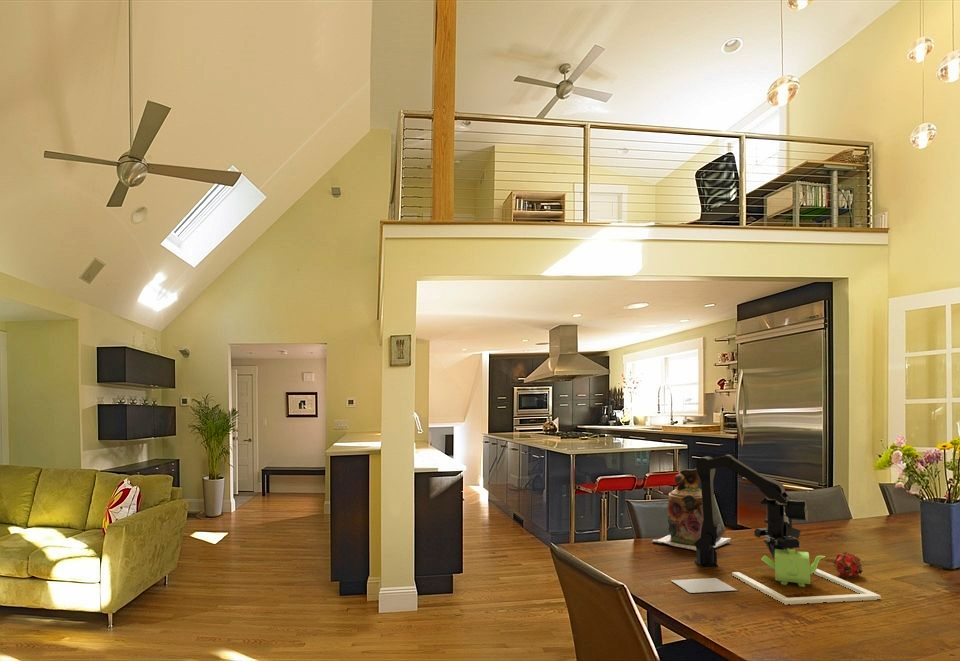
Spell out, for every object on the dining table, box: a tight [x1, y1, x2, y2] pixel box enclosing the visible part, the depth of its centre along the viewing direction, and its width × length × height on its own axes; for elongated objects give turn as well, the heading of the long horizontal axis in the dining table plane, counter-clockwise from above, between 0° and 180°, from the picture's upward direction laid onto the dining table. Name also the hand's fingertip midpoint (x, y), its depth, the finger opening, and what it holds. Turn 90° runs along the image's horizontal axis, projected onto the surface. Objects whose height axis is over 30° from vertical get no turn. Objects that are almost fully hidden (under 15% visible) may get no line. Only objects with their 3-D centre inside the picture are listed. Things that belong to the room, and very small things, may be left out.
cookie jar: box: [651, 468, 732, 551], centre depth 284 cm, size 25×25×32 cm
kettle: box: [760, 548, 826, 588], centre depth 227 cm, size 15×14×11 cm
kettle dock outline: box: [731, 568, 882, 606], centre depth 222 cm, size 32×31×1 cm
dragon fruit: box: [833, 551, 863, 578], centre depth 235 cm, size 8×8×12 cm
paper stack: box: [670, 577, 737, 594], centre depth 218 cm, size 23×25×1 cm
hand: (777, 562), depth 236 cm, fingers closed
